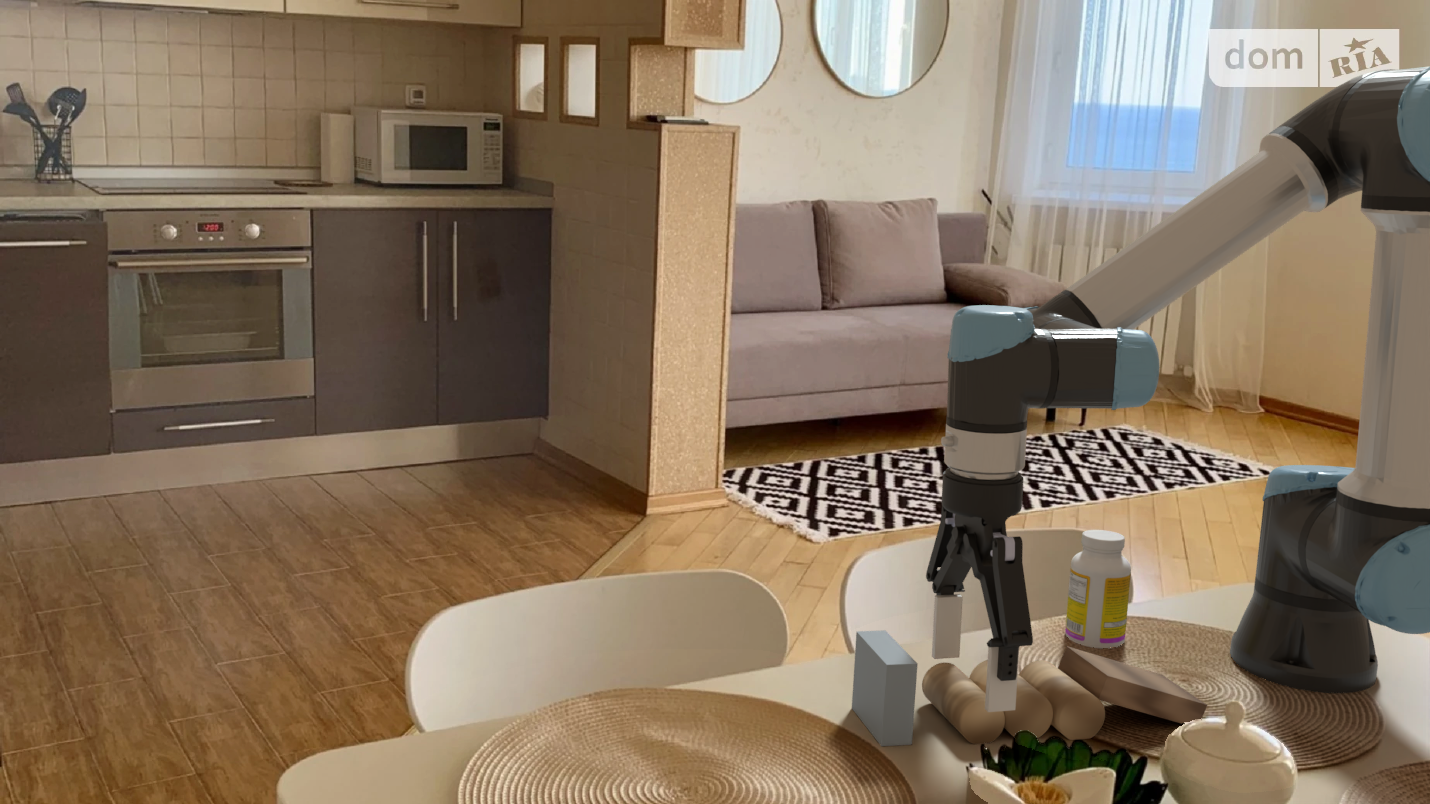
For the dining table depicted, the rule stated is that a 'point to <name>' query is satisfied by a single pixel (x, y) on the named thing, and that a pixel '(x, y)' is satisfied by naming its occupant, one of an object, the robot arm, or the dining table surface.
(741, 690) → the dining table surface
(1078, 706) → the roller
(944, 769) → the dining table surface
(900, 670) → the block
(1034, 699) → the roller
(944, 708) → the roller
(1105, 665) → the walnut board
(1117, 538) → the supplement bottle
